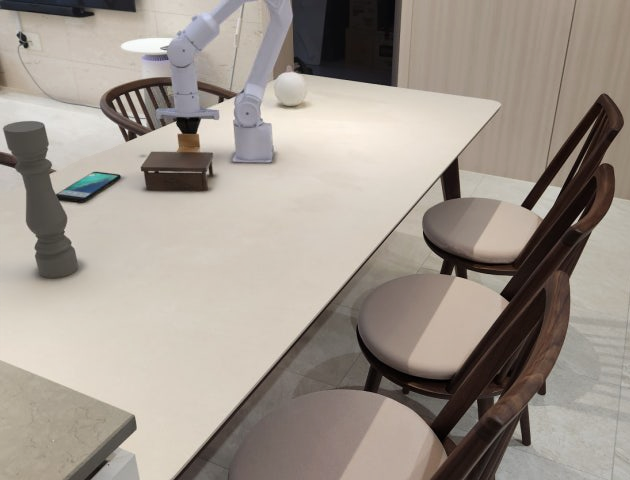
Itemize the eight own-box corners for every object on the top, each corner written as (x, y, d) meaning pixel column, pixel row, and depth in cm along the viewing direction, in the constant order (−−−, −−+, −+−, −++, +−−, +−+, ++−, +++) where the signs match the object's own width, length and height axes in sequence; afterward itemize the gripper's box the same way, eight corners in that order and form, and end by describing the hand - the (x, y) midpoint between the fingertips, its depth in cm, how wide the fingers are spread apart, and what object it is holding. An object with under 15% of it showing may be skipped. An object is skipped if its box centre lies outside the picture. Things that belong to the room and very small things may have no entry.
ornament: (279, 99, 207) (278, 61, 201) (310, 102, 206) (309, 64, 200) (271, 108, 199) (269, 68, 192) (303, 110, 198) (302, 71, 191)
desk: (215, 174, 149) (213, 152, 146) (208, 191, 141) (206, 167, 138) (154, 174, 148) (151, 151, 145) (144, 190, 140) (140, 167, 137)
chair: (201, 161, 156) (198, 133, 152) (197, 170, 151) (194, 141, 147) (181, 161, 156) (177, 133, 152) (176, 169, 150) (172, 141, 147)
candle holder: (46, 260, 111) (10, 120, 99) (83, 260, 112) (52, 120, 99) (33, 278, 106) (-7, 132, 93) (72, 278, 107) (37, 132, 94)
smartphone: (52, 195, 133) (94, 170, 146) (53, 199, 134) (94, 174, 146) (82, 199, 132) (122, 174, 145) (83, 203, 133) (122, 177, 145)
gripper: (219, 88, 153) (223, 142, 160) (157, 86, 152) (165, 141, 159) (214, 95, 147) (219, 152, 154) (150, 94, 146) (158, 151, 153)
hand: (191, 147), depth 156 cm, fingers closed, pressing on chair
